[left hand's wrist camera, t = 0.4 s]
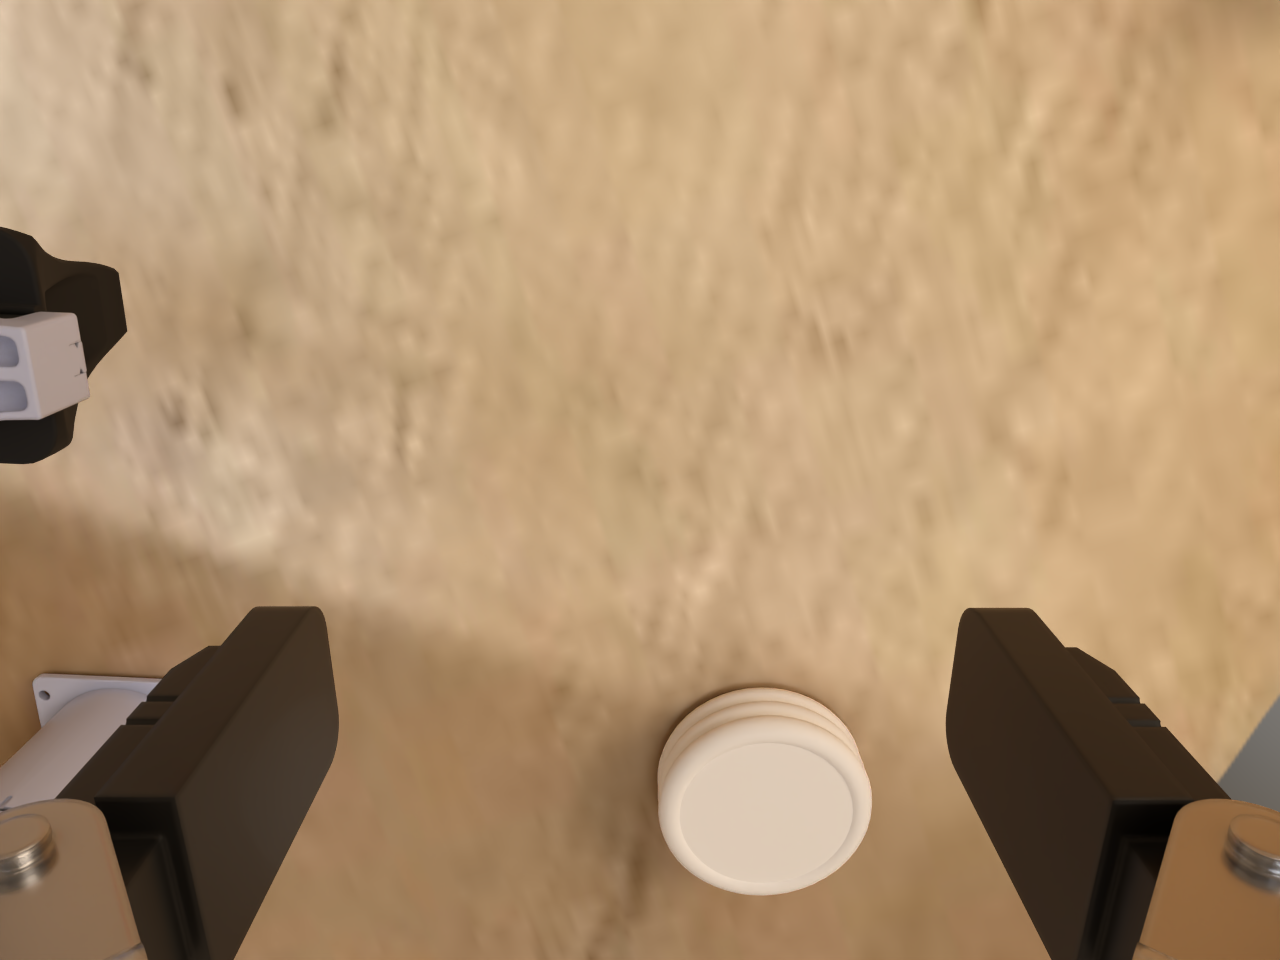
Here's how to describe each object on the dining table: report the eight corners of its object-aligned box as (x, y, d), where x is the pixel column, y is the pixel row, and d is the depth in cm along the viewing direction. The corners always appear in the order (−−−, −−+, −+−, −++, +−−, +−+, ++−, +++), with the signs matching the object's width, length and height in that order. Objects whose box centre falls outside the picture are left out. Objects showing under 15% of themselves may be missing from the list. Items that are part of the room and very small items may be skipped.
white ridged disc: (719, 650, 42) (725, 692, 39) (896, 732, 44) (917, 779, 41) (622, 803, 45) (621, 854, 42) (791, 874, 47) (803, 929, 44)
